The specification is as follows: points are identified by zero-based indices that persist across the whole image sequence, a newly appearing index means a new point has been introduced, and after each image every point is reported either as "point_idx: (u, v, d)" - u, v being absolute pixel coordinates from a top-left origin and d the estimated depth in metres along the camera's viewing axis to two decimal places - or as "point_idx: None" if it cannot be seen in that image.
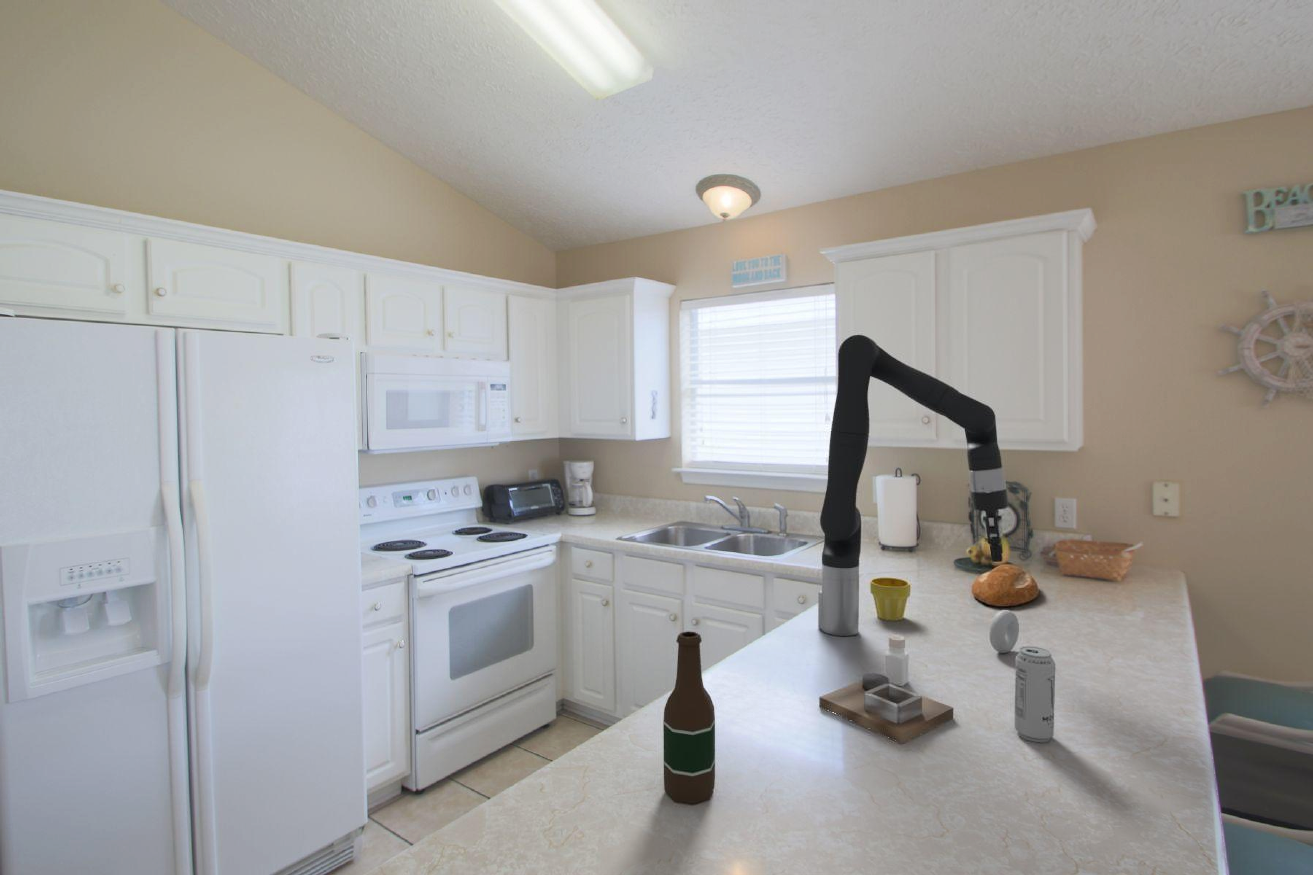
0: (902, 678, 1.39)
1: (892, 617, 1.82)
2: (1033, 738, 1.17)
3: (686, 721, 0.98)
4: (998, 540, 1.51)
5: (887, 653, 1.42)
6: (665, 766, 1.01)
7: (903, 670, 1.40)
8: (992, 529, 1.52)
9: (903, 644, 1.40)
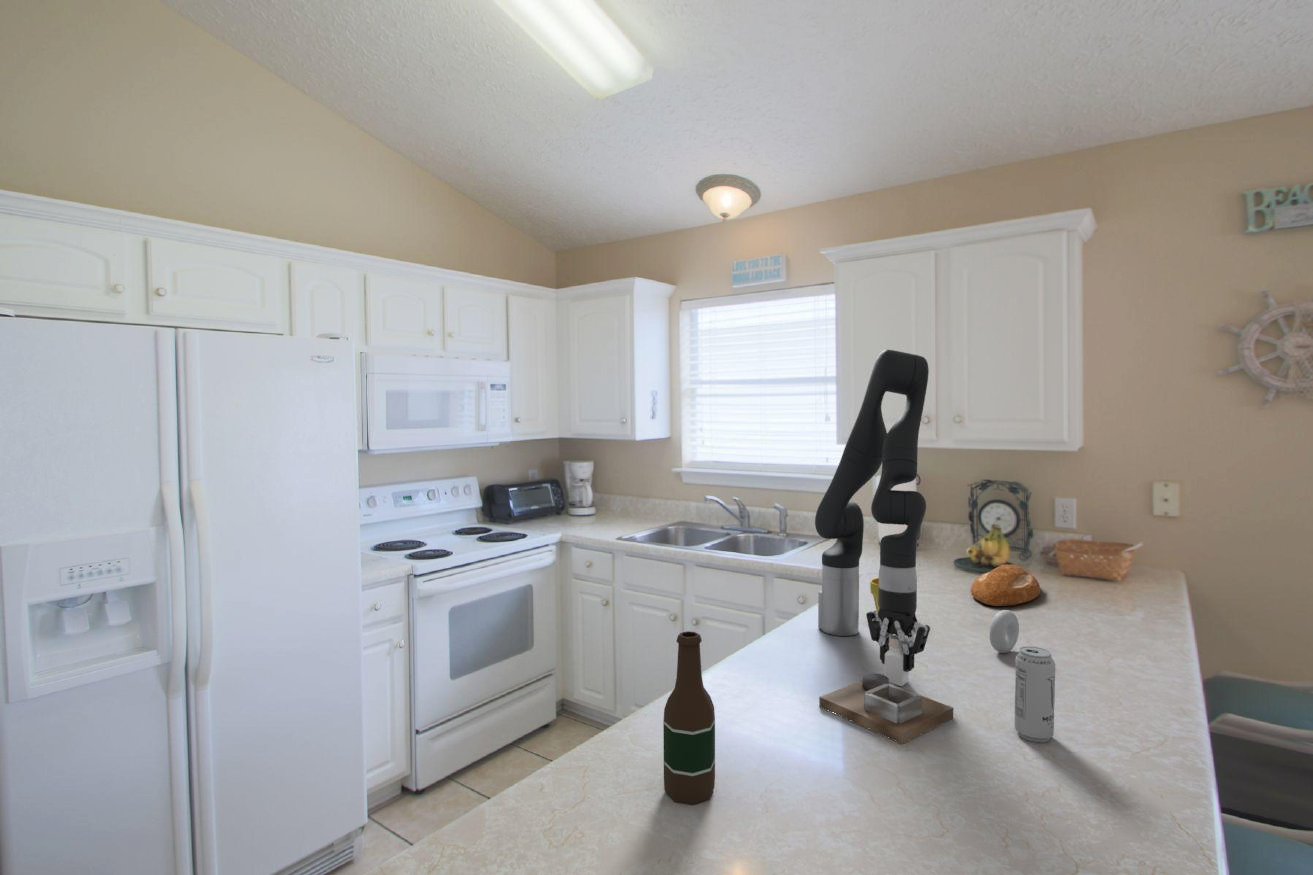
0: (902, 677, 1.39)
1: None
2: (1033, 738, 1.17)
3: (686, 721, 0.98)
4: None
5: (887, 653, 1.41)
6: (665, 766, 1.01)
7: None
8: None
9: None
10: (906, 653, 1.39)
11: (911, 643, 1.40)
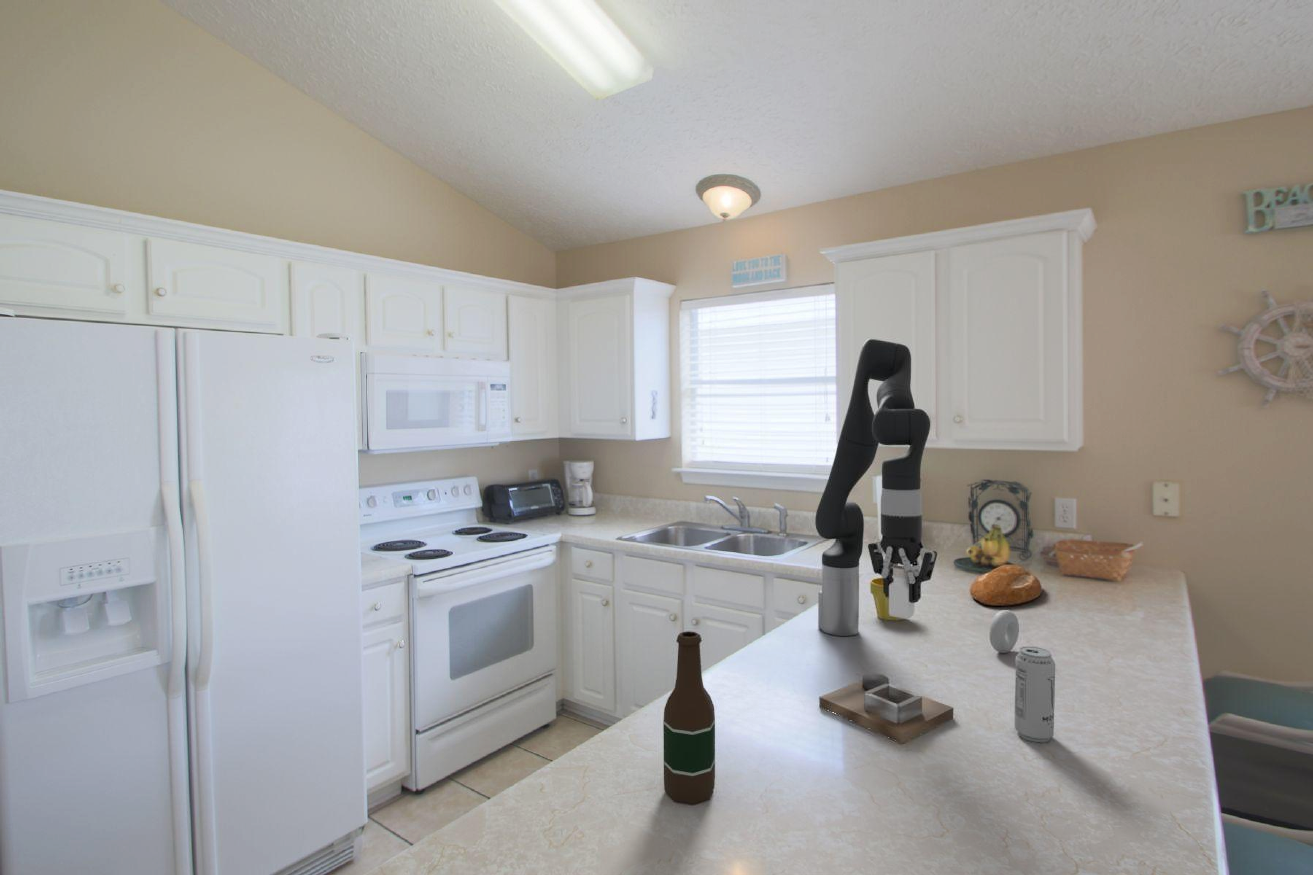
0: (908, 609, 1.30)
1: (892, 617, 1.82)
2: (1033, 738, 1.17)
3: (686, 721, 0.98)
4: None
5: (892, 584, 1.32)
6: (665, 766, 1.01)
7: None
8: None
9: None
10: (912, 582, 1.29)
11: (917, 572, 1.30)
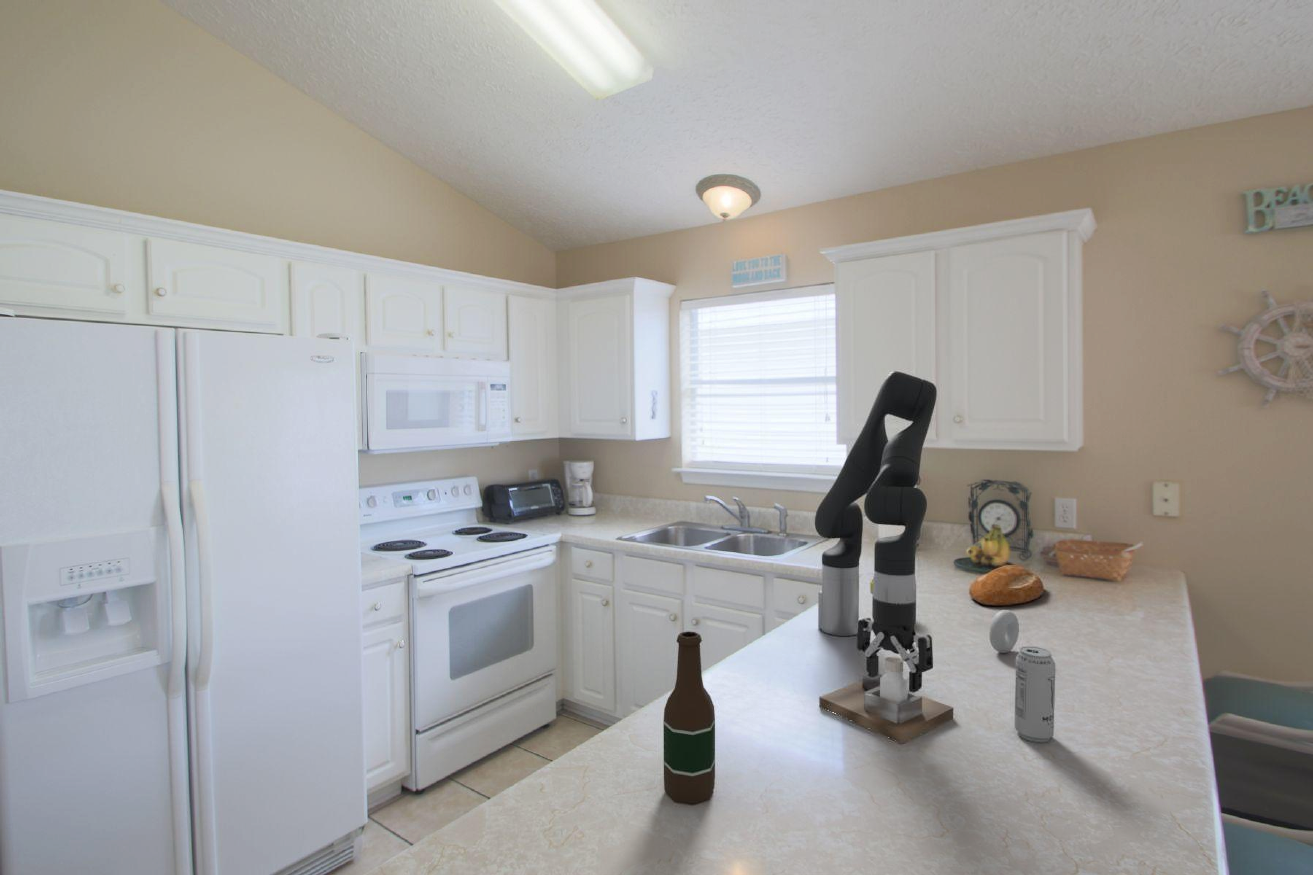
0: None
1: None
2: (1033, 738, 1.17)
3: (686, 721, 0.98)
4: None
5: (883, 677, 1.24)
6: (665, 766, 1.01)
7: (901, 698, 1.22)
8: None
9: (901, 667, 1.23)
10: (912, 671, 1.19)
11: (916, 659, 1.21)
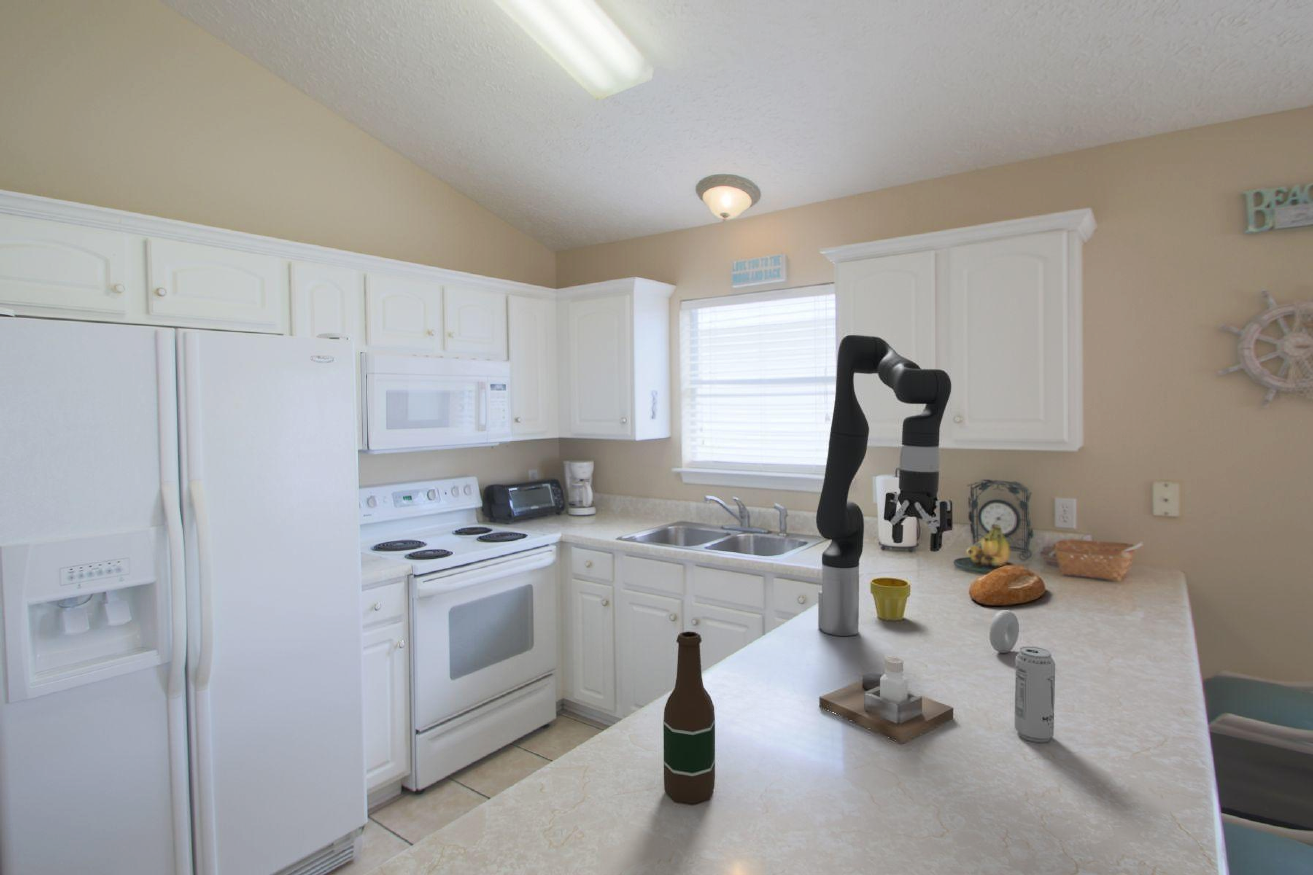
0: None
1: (892, 617, 1.82)
2: (1033, 738, 1.17)
3: (686, 721, 0.98)
4: None
5: (883, 677, 1.24)
6: (665, 766, 1.01)
7: (901, 698, 1.22)
8: None
9: (901, 667, 1.23)
10: (934, 532, 1.34)
11: (937, 523, 1.35)
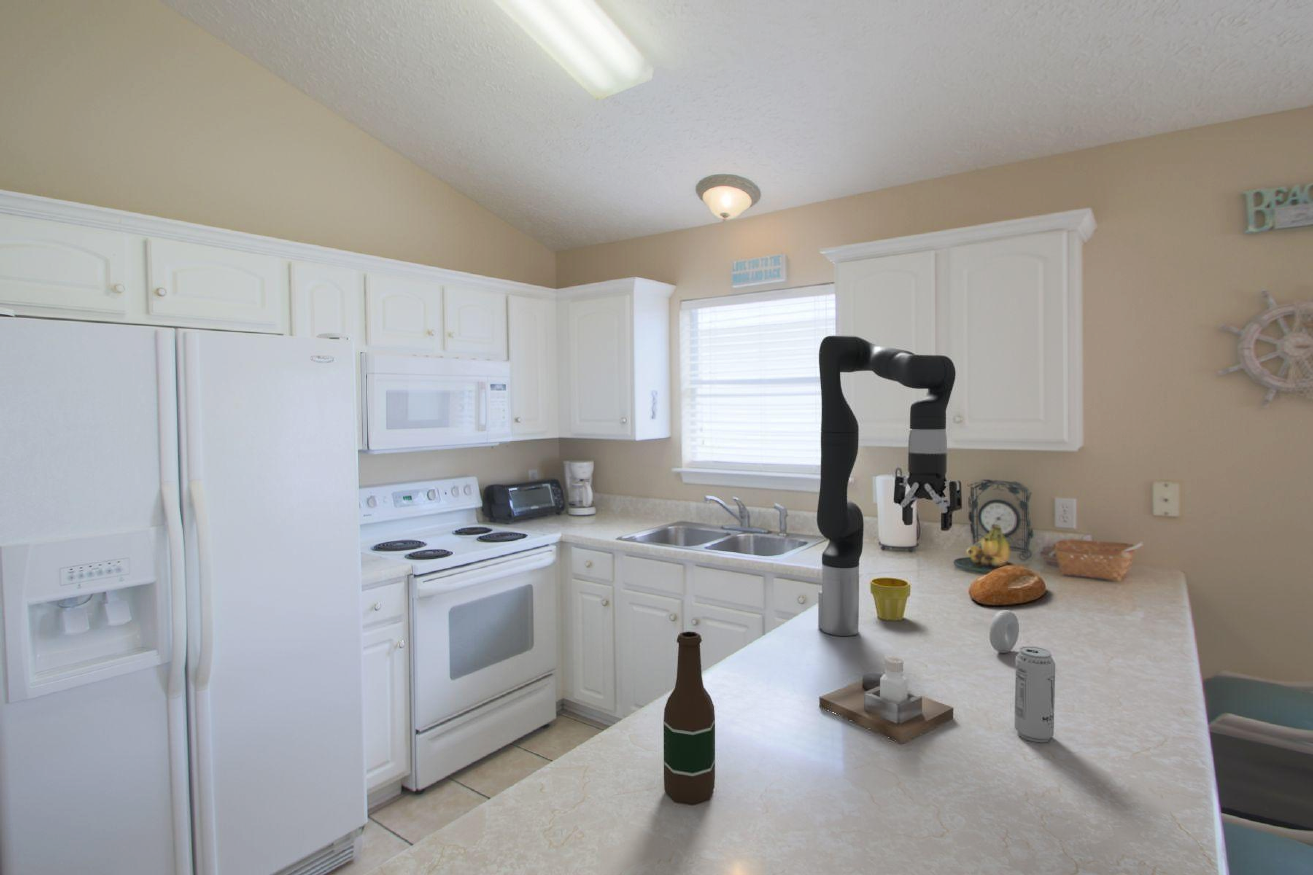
0: None
1: (892, 617, 1.82)
2: (1033, 738, 1.17)
3: (686, 721, 0.98)
4: None
5: (883, 677, 1.24)
6: (665, 766, 1.01)
7: (901, 698, 1.22)
8: None
9: (901, 667, 1.23)
10: (944, 511, 1.38)
11: (947, 503, 1.40)
